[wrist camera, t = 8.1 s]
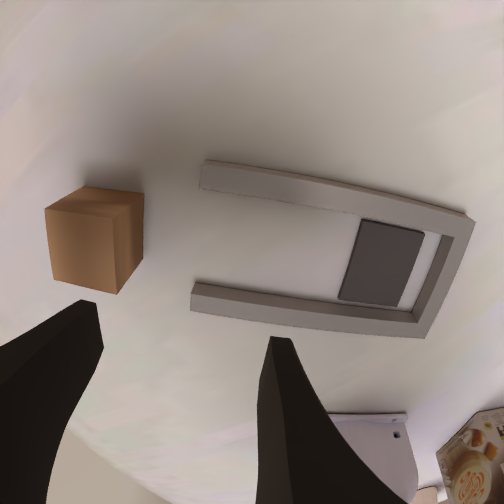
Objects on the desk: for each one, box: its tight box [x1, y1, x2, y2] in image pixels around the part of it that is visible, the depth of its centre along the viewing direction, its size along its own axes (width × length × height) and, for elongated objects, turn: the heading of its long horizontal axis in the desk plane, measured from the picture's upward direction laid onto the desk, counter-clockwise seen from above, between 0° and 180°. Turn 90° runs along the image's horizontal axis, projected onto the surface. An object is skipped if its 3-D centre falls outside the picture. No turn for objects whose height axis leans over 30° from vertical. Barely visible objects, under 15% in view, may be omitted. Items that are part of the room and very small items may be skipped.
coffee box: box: [436, 408, 504, 504], centre depth 19 cm, size 9×6×16 cm
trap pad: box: [338, 219, 425, 307], centre depth 17 cm, size 4×5×1 cm
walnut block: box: [45, 187, 144, 295], centre depth 15 cm, size 4×4×4 cm
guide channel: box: [190, 160, 476, 339], centre depth 17 cm, size 15×8×1 cm, turn 81°
